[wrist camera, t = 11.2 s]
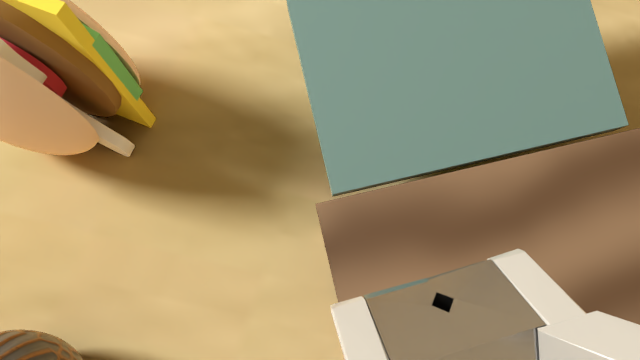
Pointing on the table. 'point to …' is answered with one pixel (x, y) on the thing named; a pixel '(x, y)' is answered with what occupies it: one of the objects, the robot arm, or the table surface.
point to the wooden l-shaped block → (502, 224)
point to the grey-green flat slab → (448, 82)
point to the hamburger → (63, 80)
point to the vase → (34, 346)
